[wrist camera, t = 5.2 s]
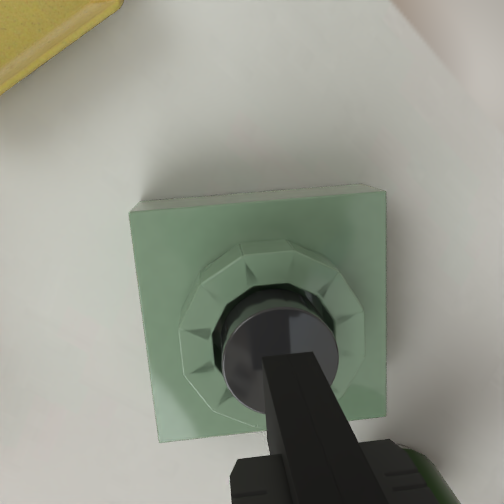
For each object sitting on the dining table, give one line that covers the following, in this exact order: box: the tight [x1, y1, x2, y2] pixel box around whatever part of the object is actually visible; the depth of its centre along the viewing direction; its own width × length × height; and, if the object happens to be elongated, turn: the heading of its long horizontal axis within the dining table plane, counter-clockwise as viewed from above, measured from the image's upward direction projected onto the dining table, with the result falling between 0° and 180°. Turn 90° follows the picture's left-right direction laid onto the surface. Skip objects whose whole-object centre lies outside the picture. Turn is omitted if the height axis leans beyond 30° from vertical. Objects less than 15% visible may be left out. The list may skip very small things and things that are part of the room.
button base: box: [129, 184, 386, 443], centre depth 20 cm, size 10×10×5 cm
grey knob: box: [220, 289, 339, 414], centre depth 17 cm, size 4×4×2 cm
